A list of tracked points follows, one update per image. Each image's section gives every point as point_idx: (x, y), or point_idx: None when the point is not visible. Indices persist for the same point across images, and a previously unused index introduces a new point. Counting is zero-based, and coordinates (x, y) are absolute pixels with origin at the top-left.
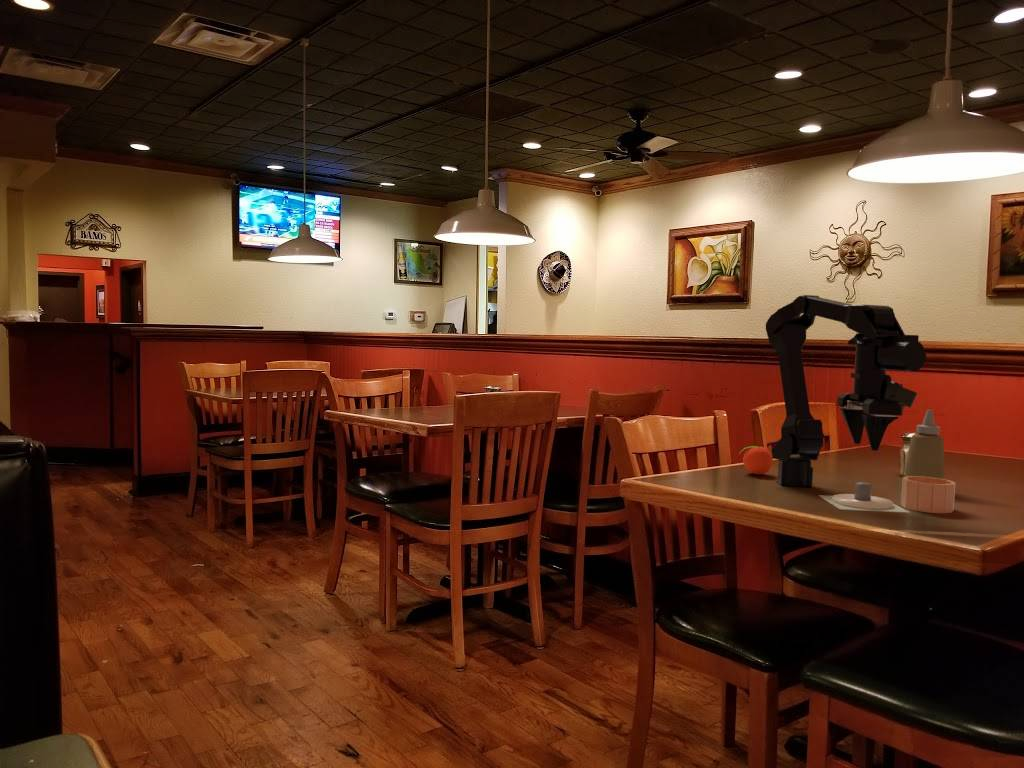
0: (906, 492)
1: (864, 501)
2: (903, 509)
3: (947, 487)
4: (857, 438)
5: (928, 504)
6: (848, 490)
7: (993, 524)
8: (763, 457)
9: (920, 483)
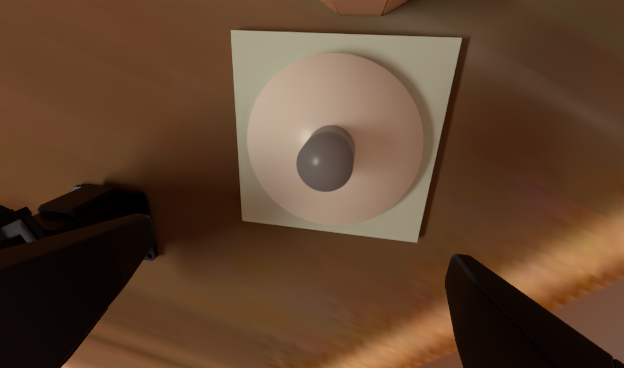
0: (382, 4)
1: (362, 157)
2: (413, 40)
3: None
4: (128, 251)
5: None
6: (95, 78)
7: None
8: None
9: None
